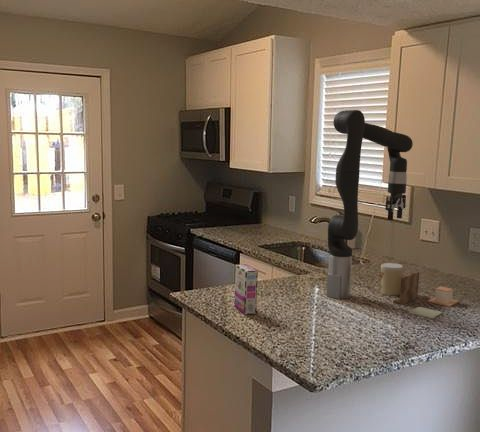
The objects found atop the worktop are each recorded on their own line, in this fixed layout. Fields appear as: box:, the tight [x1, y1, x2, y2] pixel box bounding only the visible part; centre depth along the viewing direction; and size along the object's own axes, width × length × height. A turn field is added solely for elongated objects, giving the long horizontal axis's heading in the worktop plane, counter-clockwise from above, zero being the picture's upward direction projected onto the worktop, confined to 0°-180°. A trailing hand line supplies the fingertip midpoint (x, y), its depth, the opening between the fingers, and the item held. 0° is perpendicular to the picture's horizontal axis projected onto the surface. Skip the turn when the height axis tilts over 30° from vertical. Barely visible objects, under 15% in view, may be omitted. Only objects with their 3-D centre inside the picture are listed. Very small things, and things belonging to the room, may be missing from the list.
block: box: [434, 285, 454, 303], centre depth 210 cm, size 5×5×5 cm
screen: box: [392, 270, 420, 306], centre depth 211 cm, size 14×4×11 cm, turn 137°
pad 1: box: [408, 306, 443, 319], centre depth 196 cm, size 9×9×1 cm
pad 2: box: [427, 296, 460, 308], centre depth 210 cm, size 9×9×1 cm
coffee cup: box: [380, 262, 404, 296], centre depth 221 cm, size 9×9×12 cm
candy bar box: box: [233, 264, 259, 316], centre depth 193 cm, size 11×5×16 cm, turn 21°
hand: (394, 219), depth 228 cm, fingers open, 8 cm apart
